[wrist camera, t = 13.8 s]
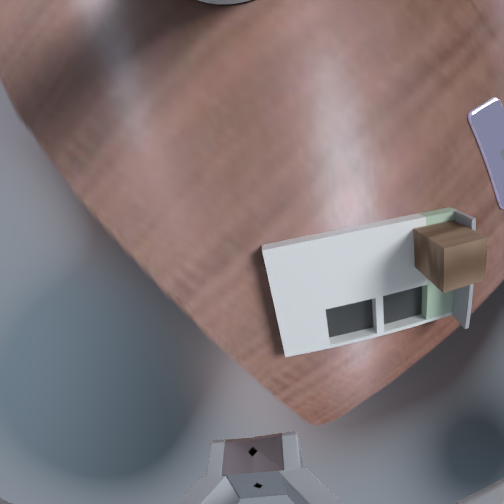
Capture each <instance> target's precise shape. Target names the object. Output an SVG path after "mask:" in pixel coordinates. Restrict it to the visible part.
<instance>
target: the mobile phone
mask: <svg viewBox="0 0 504 504" xmlns="http://www.w3.org/2000/svg"><path fill="white" fill-rule="evenodd" d="M468 121H469V123H470V126H471V128H472V130H473V133H474V135H475V138H476V140H477V143H478V145H479V148H480V150H481V153H482V156H483V158H484V161H485V164H486V167H487V169H488V172H489V175H490V178H491V182H492V185H493V188H494V191H495V194H496V198H497V201H498V204H499V207H500V208H501V209H504V108H503V106H502V103H501V102H500V100H499V99H498V98H495V97H494V98H491V99H490V100H488V101H486V102H485V103H483V104H482V105H480V106H478V107H477V108H475V109H473V110H472V111H470V112H469V114H468Z"/></svg>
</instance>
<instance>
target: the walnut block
mask: <svg viewBox="0 0 504 504" xmlns="http://www.w3.org/2000/svg"><path fill="white" fill-rule="evenodd" d="M413 235H414V258H415V268H416V269H417V270H419V271H420V272H421V273H422V274H423V275H424V276H425V277H426V278H427V279H428V280H430V281H431V282H432V283H433V284H434V285H435V286H436V287H437V288H438V289H439V290H440V291H441V292H443V293H445V292H448V291H452V290H455V289H458V288H461V287H465V286H468V285H471V284H474V283H477V282H480V281H483V280H485V271H486V256H487V237H485V236H483V235H481V234H479V233H478V232H476V231H474V230H472V229H470V228H468V227H466V226H464V225H462V224H460V223H458V222H456V221H454V220H451V221H446V222H442V223H437V224H432V225H427V226H423V227H418V228H413Z"/></svg>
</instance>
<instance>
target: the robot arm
mask: <svg viewBox="0 0 504 504" xmlns="http://www.w3.org/2000/svg"><path fill="white" fill-rule="evenodd" d="M198 1H202V2H206V3H212V4H235V3H242V2H246V1H250V0H198ZM276 495H288V497H289V498H290V499H291V500H292V501H293V502H294V503H295V504H344V503H343V502H342V501H341V500H340V499H339V498H338V497H337V496H336V495H334V494H333V493H332V492H331V491H330V490H329V489H328V488H327V487H325V486H324V485H323V484H322V483H321V482H320V481H319V480H318V479H317V478H316V477H314V475H312V474H311V473H310V472H309V471H308V470H307V469H306V468H305V467H304V466H303V459H302V453H301V447H300V443H299V439H298V433H297V431H293V432H287V433H279V434H272V435H266V436H258V437H254V438H243V439H229V440H213V441H212V443H211V446H210V453H209V460H208V467H207V473H206V476H203V477H201V478H200V479H199V481H197V482H196V483H195V484H194V486H193V487H192V488H191V489H190V490H189V491H188V492H187V493H186V494H185V495H184V496H183V497H182V498H181V499H180V500H179V501H178V502H177V503H176V504H238V502H239V501H240V499H241V498H242V499H243V498H253V497H263V496H276ZM0 504H11V503H9V502H7V501H5V500H3V499H1V498H0ZM454 504H504V478H503V479H501V480H499V481H498V482H496V483H494V484H492V485H490V486H488V487H486V488H485V489H483V490H481V491H479V492H477V493H475V494H473V495H471V496H469V497H467V498H465V499H462V500H460V501H458V502H456V503H454Z"/></svg>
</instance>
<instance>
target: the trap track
mask: <svg viewBox="0 0 504 504" xmlns="http://www.w3.org/2000/svg"><path fill="white" fill-rule="evenodd" d="M451 220H454V221H456V222H458V223H460V224H462V225H464V226H466V227H468V228H470V229H472V230H474V231H476V218H474V217H472V216H470V215H467V214H465V213H463V212H460V211H458V210H456V209H453V208H451V207H448V208H443V209H438V210H433V211H428V212H423V213H418V214H413V215H408V216H403V217H398V218H393V219H388V220H383V221H378V222H373V223H368V224H363V225H358V226H353V227H348V228H343V229H338V230H333V231H328V232H323V233H318V234H313V235H308V236H303V237H298V238H294V239H289V240H284V241H279V242H274V243H269V244H264V245H262V253H263V257H264V262H265V266H266V271H267V275H268V280H269V284H270V289H271V293H272V298H273V303H274V307H275V312H276V316H277V321H278V325H279V330H280V335H281V339H282V344H283V349H284V353H285V357H289V356H294V355H299V354H304V353H309V352H314V351H319V350H323V349H328V348H333V347H337V346H341V345H346V344H350V343H354V342H358V341H362V340H366V339H370V338H374V337H378V336H382V335H386V334H389V333H393V332H397V331H400V330H404V329H407V328H411V327H414V326H418V325H421V324H424V323H427V322H431V321H434V320H437V319H440V318H443V317H446V316H449V315H452V316H453V317H454V318H455V319H456V320H457V321H458V322H459V323H460V324H461V325H462V326H463V327H464V328H465V329H466V328H469V321H470V313H471V305H472V295H473V284H471V285H468V286H465V287H461V288H458V289H455V290H452V291H448V292H445V293H443V292H441V291H440V290H439V289H438V288H437V287H436V286H435V285H434V284H433V283H432V282H431V281H430V280H428V279H427V278H426V277H425V276H424V275H423V274H422V273H421V272H420V271H419V270H417V269H416V268H415V258H414V235H413V228H418V227H423V226H427V225H432V224H437V223H442V222H446V221H451Z"/></svg>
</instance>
